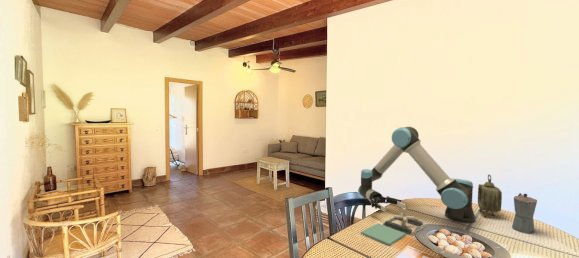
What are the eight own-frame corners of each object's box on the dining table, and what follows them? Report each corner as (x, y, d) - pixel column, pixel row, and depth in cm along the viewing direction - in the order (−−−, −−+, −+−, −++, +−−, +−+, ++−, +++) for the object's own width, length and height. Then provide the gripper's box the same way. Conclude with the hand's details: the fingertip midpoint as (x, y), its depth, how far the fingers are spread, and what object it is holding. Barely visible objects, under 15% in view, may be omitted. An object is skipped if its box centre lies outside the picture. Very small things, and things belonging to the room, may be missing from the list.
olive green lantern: (477, 209, 166) (478, 171, 165) (494, 212, 162) (496, 172, 161) (481, 218, 154) (483, 176, 152) (501, 220, 149) (503, 178, 148)
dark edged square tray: (398, 216, 157) (399, 212, 157) (427, 225, 144) (427, 221, 144) (382, 225, 145) (382, 220, 145) (412, 235, 132) (412, 231, 132)
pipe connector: (416, 231, 138) (416, 212, 137) (396, 229, 140) (396, 211, 139) (411, 223, 148) (411, 205, 147) (392, 221, 150) (393, 204, 149)
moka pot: (518, 234, 133) (520, 196, 132) (505, 222, 147) (506, 188, 146) (541, 237, 130) (544, 198, 128) (526, 224, 144) (528, 189, 143)
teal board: (377, 225, 145) (377, 223, 145) (405, 235, 133) (405, 233, 133) (360, 234, 135) (360, 231, 135) (389, 246, 122) (389, 243, 122)
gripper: (390, 200, 174) (412, 212, 154) (357, 203, 168) (375, 216, 148) (390, 189, 174) (413, 199, 153) (357, 192, 168) (375, 204, 147)
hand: (394, 208), depth 150 cm, fingers open, 13 cm apart
